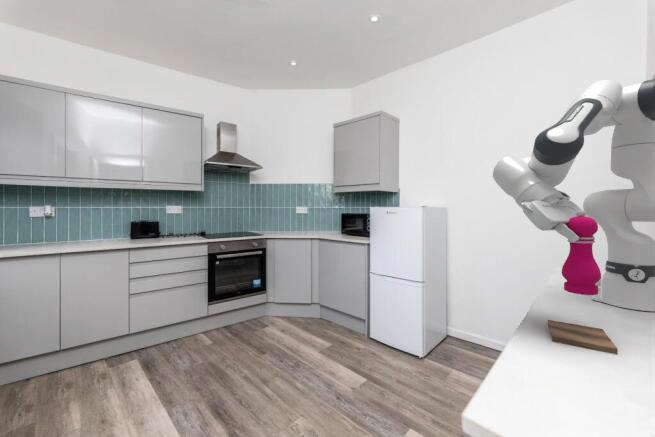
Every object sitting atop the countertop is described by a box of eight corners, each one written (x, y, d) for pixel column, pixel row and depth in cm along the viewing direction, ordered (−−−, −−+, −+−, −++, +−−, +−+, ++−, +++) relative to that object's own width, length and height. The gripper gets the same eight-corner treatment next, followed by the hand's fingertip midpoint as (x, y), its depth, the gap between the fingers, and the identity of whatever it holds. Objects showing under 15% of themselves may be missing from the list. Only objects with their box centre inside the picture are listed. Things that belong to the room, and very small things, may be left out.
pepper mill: (609, 296, 66) (610, 209, 65) (573, 295, 67) (573, 210, 66) (587, 288, 73) (587, 209, 72) (555, 287, 74) (555, 210, 73)
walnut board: (547, 323, 78) (547, 319, 78) (602, 333, 72) (602, 328, 72) (552, 341, 67) (552, 336, 67) (617, 354, 61) (617, 349, 61)
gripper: (526, 190, 71) (573, 232, 62) (569, 193, 80) (615, 230, 71) (508, 208, 75) (549, 250, 66) (550, 209, 84) (592, 246, 75)
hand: (584, 240), depth 69 cm, fingers closed on pepper mill, 5 cm apart
